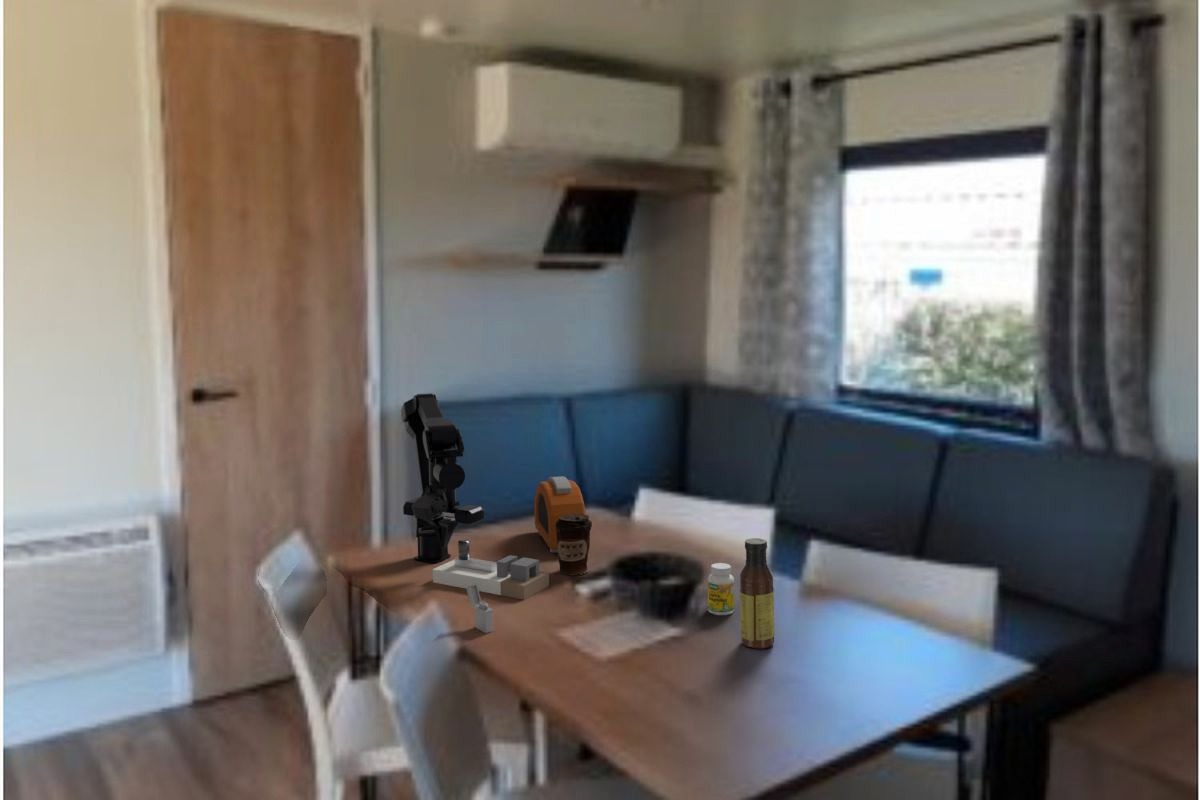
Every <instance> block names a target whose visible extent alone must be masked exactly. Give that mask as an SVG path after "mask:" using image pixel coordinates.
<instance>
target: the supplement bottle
mask: <svg viewBox="0 0 1200 800" xmlns="http://www.w3.org/2000/svg"><path fill="white" fill-rule="evenodd" d="M710 572H711V573H710V575H709V576H708V577H707V611H708V613H710V614H712V615H716V616H728V615H731V614H733V612H734V611H735V578H734V575H732V574H731V573H732V566H731V565H730V564H728V563H724V562H718V563H717V562H716V563H712V564H711V565H710Z"/></svg>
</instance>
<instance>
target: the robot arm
mask: <svg viewBox="0 0 1200 800" xmlns="http://www.w3.org/2000/svg"><path fill="white" fill-rule="evenodd" d="M400 412H401V421H402V423H404V428H405V431H406V432H407V434H408V435H409V436H410V437H411V438H412V439H413V445H414V446H413V448H414V455H415V462H416V469H417V476H418V484H419V485H418V486H419V492H420V496H419V497H416V498H413V499H410V500H407V501H405V502H404V504H403V506H402V512H403V515H405V516H413V518H412V522H411V528H412V529H411V530H412V534H413V535H414V536H415V538H417V555H415V556H414V557H413V560H414V561H415V560H416V561H419V562H420V561H421V562H426V563H432V564H436V563H439V562H441V561H443V560H445V559H446V560H447V559H448V558H450V557H451V556H452V554H451V553H449V547H448V545H449V543H450V540H451V538H452V537H453V534H454V531H455V529H456V527H458V526H457V525H458V524H464V525H471V524H474V523H476V522H479V521H481V520H484V519H485V511H484V509H483V508H482V506H480V505H473V504H467V505H464V506H461V507H458V506H460V500H458V499H457V496H456V493H457V492H456V490H457V489H458V488H460V487H461V486H462V485H463V483H464V482H465V478H466V473H465V470H464V468H463V467H462V466H461V465H460V464H459V463H458V461H457V458H459V457H460V458H462V457H464V452H465V446H464V442H463V441H464V440H463V436H462V434H461V432H460V430H459V428H457V426H456V424H455V423H454V422H453V421H452V420H450V419H447V418H445V417H444V415H443V413H442V411H441V409H440V406H439V400H438V399H437V395H436V394H435V393H433V392H432V393H431V392H429V393H417V394H415V395H413V396H412V398H410V399H408V400H406V401H404V402H403V404H402V407H401V411H400ZM456 499H457V500H456Z"/></svg>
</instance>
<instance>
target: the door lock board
mask: <svg viewBox="0 0 1200 800" xmlns="http://www.w3.org/2000/svg"><path fill="white" fill-rule="evenodd" d="M496 562H497V570H495V571H493V572H489V571H483V570H477V569H472V568H466V567H461V566H455V565H454V559H452V560H450V561H448V562H446V563H444V564H441V565H438V566H437V567H435V568H432V583H435V584H440V585H445V586H450V587H454V588H455V587H456V588H462V589H466V590H467V588H466V587H467V586H469V585H472V584H477V586H478V590H479V592H482V593H487V594H488V593H489V594H494V595H498V596H502V597H503V596H504V597H509V598H513V599H519V600H527V599H529V598H530V597H532V596H534V595H535V594H538V593H539V592H541V591H542V590H544V589H546V588H548V587H549V586H550V573H549V572H548V571H546V572H545V571H542V570H541V571H540V560H539V559H535V558H529V557H524V556H523V557H521V558H519V557H518V556H517V555H511V554H510V555H507V556H506V557H505V556H504V557H503V558H501V559H499V560H498V561H496Z"/></svg>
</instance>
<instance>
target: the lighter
mask: <svg viewBox="0 0 1200 800" xmlns="http://www.w3.org/2000/svg"><path fill="white" fill-rule="evenodd" d="M466 588H467V589H466ZM466 588H465V589H466V592H467V596H468V600H469V604H470V607H471V608H474V623H475V624H474V628H476V629H477V630H479V631H481V632H483V633H485V634H488V633H492V632H494V609H493V608H491V607H489V603H488V602H485V601H484V600H482V599H481V594H480V591H479V590H478V586H477V584H472V585H469V586H467V587H466Z"/></svg>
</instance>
